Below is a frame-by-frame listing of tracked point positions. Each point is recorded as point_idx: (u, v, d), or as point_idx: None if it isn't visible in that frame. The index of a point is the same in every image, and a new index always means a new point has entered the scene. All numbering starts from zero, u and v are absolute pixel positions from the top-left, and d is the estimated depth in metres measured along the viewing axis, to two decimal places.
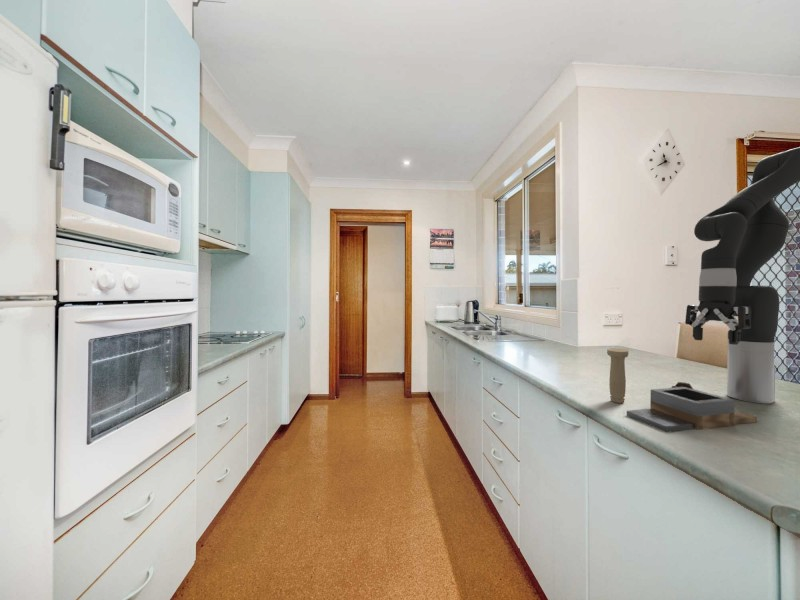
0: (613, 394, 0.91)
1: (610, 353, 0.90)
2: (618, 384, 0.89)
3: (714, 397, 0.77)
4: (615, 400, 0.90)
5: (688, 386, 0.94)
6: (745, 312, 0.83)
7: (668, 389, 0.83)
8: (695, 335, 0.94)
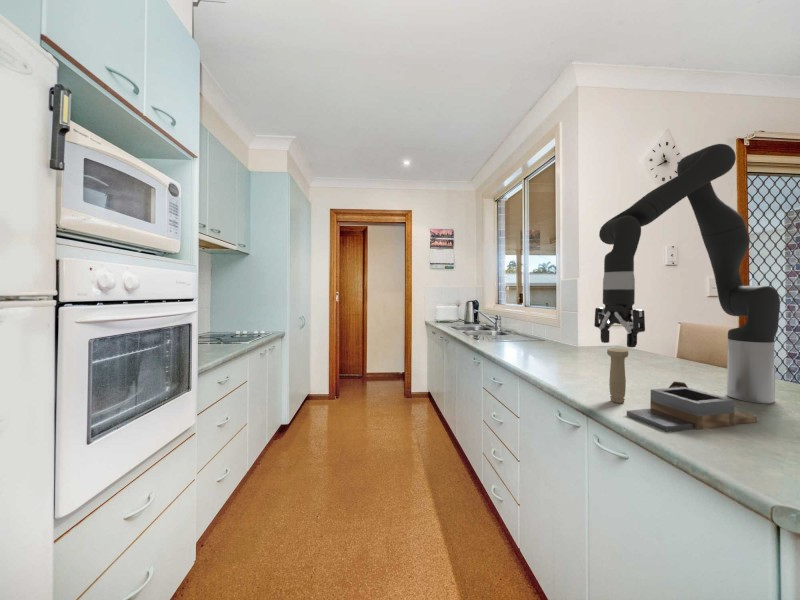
0: (613, 394, 0.91)
1: (610, 353, 0.90)
2: (618, 384, 0.89)
3: (714, 397, 0.77)
4: (615, 400, 0.90)
5: (684, 385, 0.95)
6: (639, 315, 0.84)
7: (668, 389, 0.83)
8: (602, 338, 0.95)
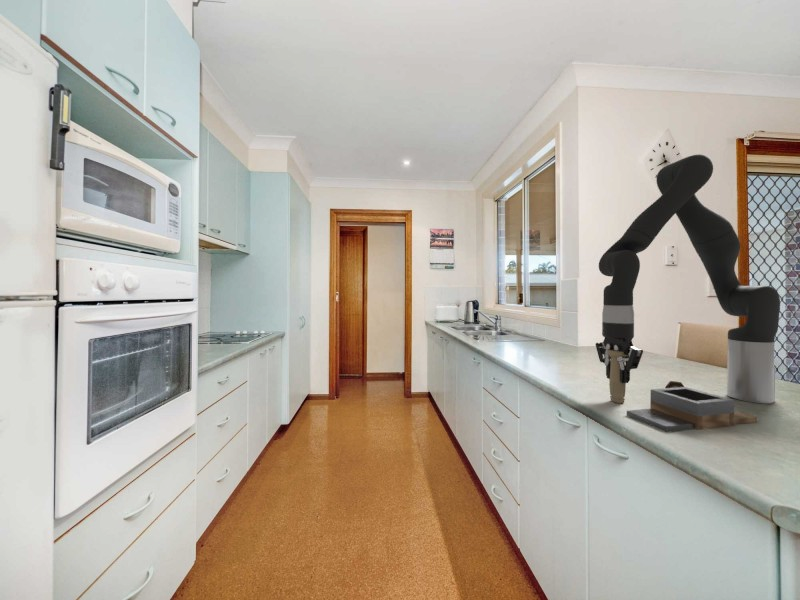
0: (613, 394, 0.91)
1: (610, 353, 0.90)
2: (618, 384, 0.89)
3: (714, 397, 0.77)
4: (615, 400, 0.90)
5: (681, 385, 0.95)
6: (636, 355, 0.85)
7: (668, 389, 0.83)
8: (607, 374, 0.93)
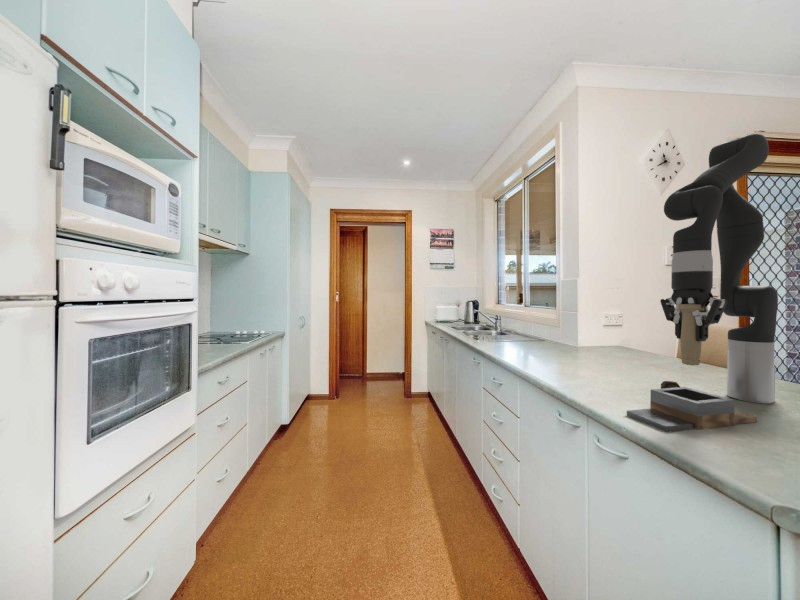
0: (686, 355, 0.78)
1: (683, 307, 0.77)
2: (693, 343, 0.77)
3: (714, 397, 0.77)
4: (689, 362, 0.78)
5: (677, 385, 0.95)
6: (719, 307, 0.72)
7: (668, 389, 0.83)
8: (677, 333, 0.81)
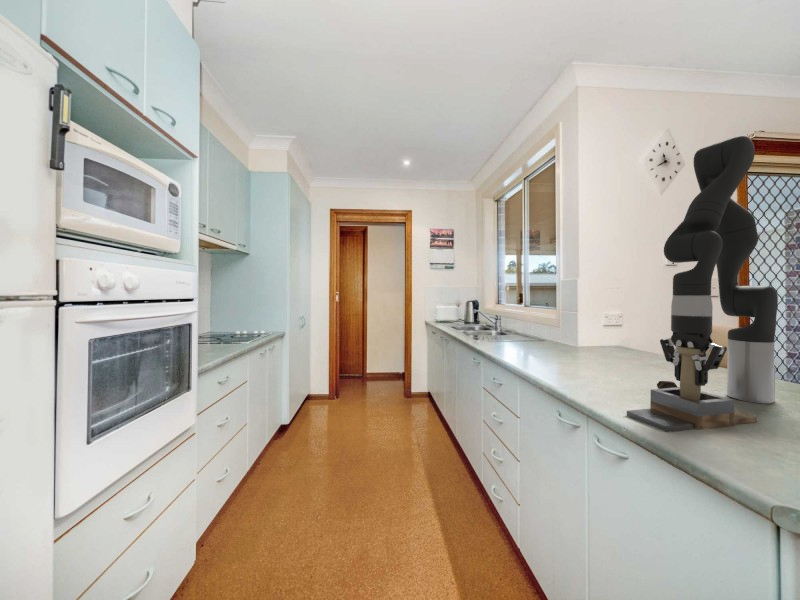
0: None
1: (683, 351, 0.77)
2: (693, 387, 0.77)
3: (714, 397, 0.77)
4: None
5: (674, 384, 0.96)
6: (719, 354, 0.72)
7: (668, 389, 0.83)
8: (677, 375, 0.81)
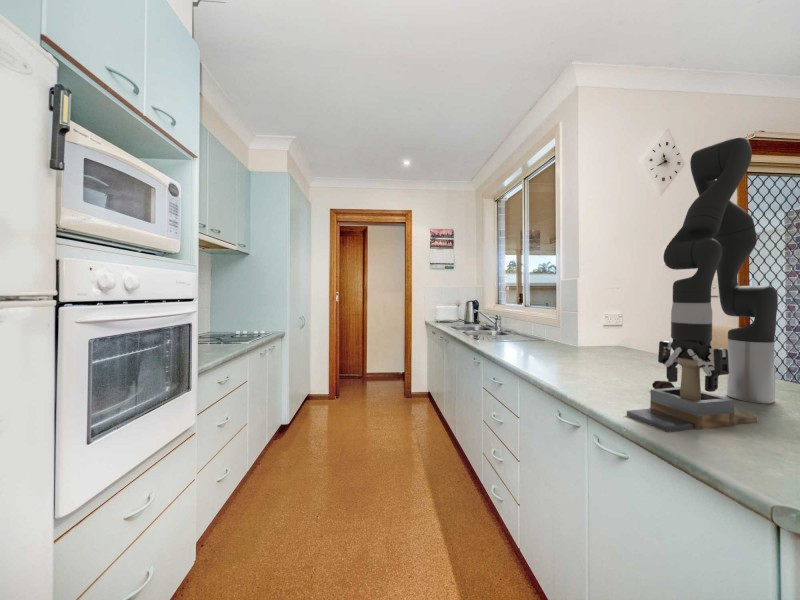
0: None
1: (683, 362, 0.77)
2: (693, 398, 0.77)
3: (714, 397, 0.77)
4: None
5: (671, 384, 0.96)
6: (722, 356, 0.72)
7: (668, 389, 0.83)
8: (669, 376, 0.83)
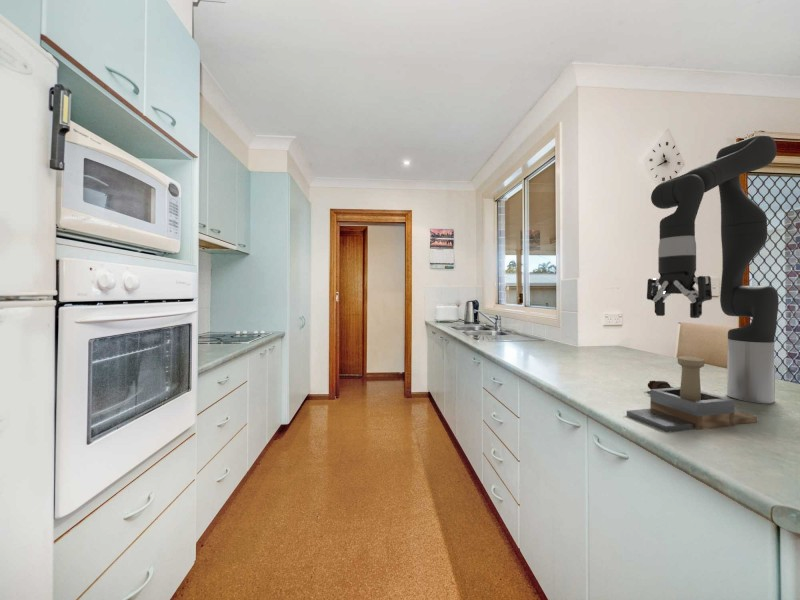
0: None
1: (683, 362, 0.77)
2: (693, 398, 0.77)
3: (714, 397, 0.77)
4: None
5: (668, 384, 0.96)
6: (705, 282, 0.77)
7: (668, 389, 0.83)
8: (657, 310, 0.88)
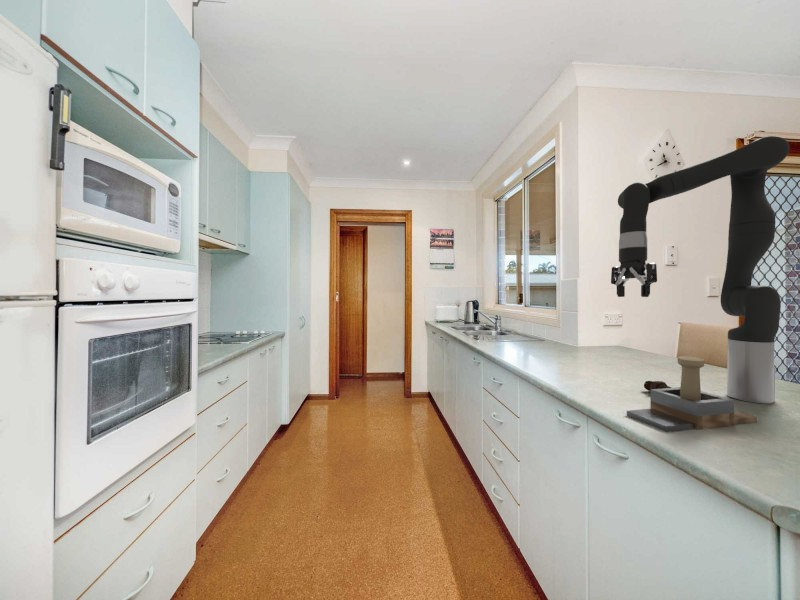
0: None
1: (683, 362, 0.77)
2: (693, 398, 0.77)
3: (714, 397, 0.77)
4: None
5: (665, 384, 0.96)
6: (651, 268, 0.97)
7: (668, 389, 0.83)
8: (618, 292, 1.08)
